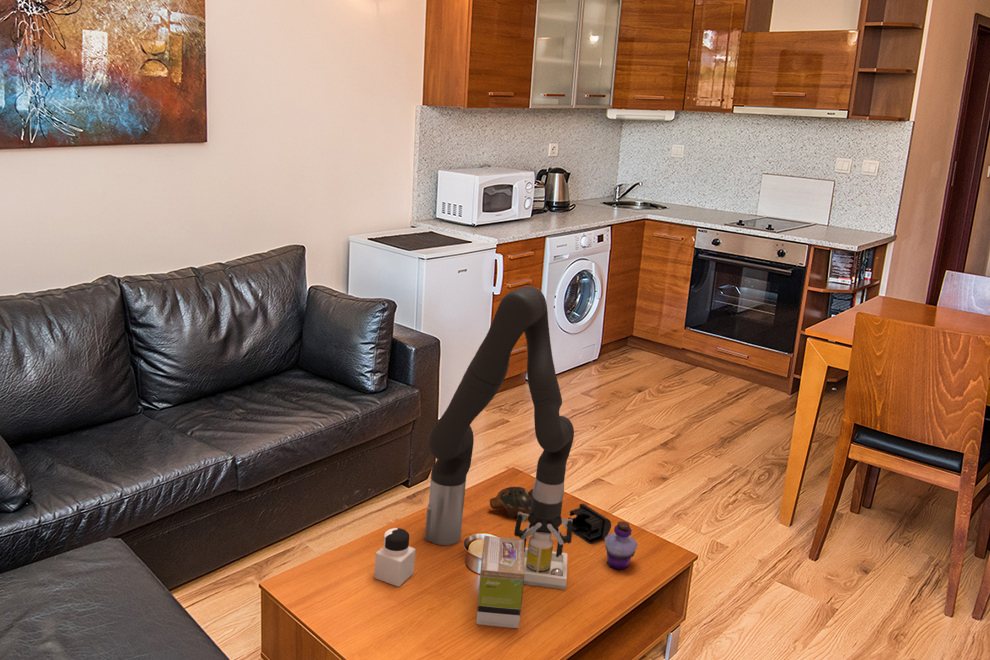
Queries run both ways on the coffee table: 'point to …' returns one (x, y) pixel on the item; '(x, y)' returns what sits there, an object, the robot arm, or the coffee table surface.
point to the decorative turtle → (513, 500)
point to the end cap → (589, 524)
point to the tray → (548, 579)
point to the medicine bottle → (395, 558)
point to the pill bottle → (539, 553)
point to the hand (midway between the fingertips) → (540, 553)
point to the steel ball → (557, 572)
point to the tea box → (501, 582)
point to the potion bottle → (620, 546)
